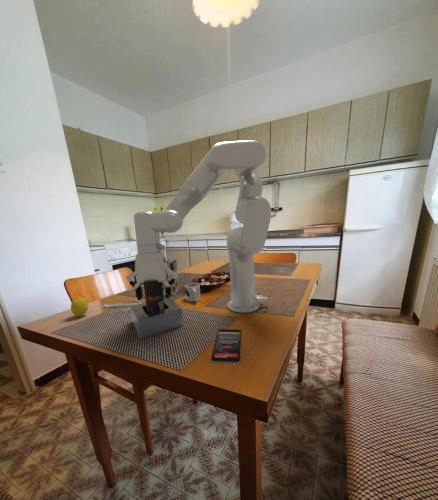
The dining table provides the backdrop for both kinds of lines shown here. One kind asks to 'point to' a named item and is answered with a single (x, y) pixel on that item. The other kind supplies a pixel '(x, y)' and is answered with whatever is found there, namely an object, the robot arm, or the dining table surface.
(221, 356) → the smartphone
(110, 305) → the crossbow
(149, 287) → the deodorant
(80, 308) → the lemon
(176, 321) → the socket block
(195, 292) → the mug
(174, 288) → the coffee box
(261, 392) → the dining table surface
